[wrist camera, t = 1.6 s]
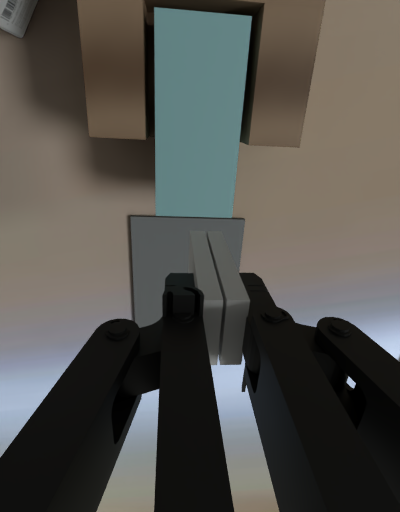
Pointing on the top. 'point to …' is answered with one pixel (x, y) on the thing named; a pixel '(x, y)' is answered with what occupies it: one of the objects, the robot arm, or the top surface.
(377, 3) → the top surface
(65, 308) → the top surface
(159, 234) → the mat
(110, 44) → the block
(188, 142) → the slab
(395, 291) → the top surface
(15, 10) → the ink box
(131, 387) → the robot arm
